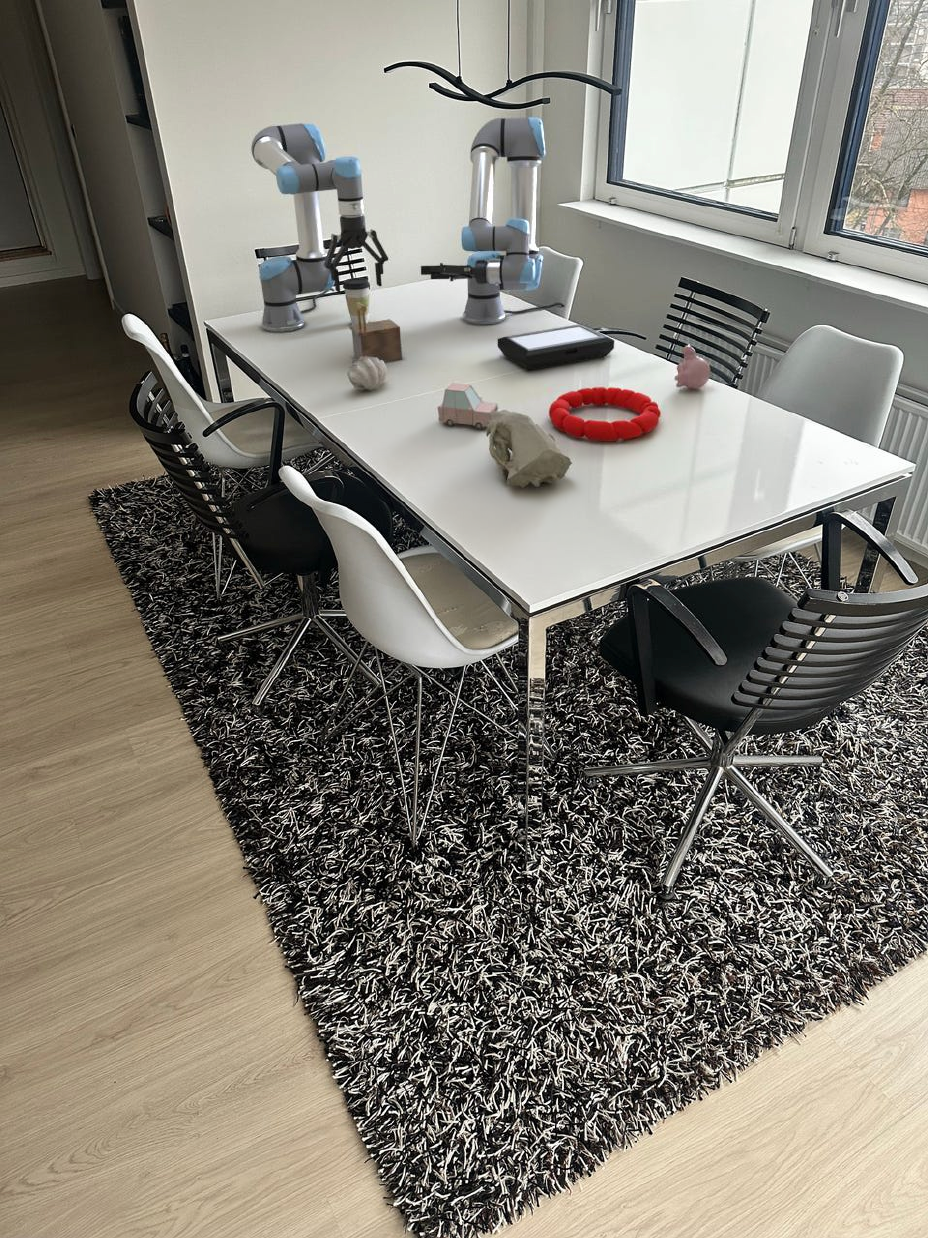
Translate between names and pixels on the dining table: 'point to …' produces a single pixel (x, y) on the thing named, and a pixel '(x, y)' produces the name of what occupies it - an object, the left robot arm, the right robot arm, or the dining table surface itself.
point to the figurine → (692, 370)
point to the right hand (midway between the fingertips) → (426, 272)
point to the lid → (371, 324)
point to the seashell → (367, 372)
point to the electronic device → (555, 346)
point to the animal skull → (525, 450)
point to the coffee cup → (357, 297)
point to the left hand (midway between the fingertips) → (358, 288)
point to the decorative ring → (604, 428)
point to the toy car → (465, 406)
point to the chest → (378, 346)
